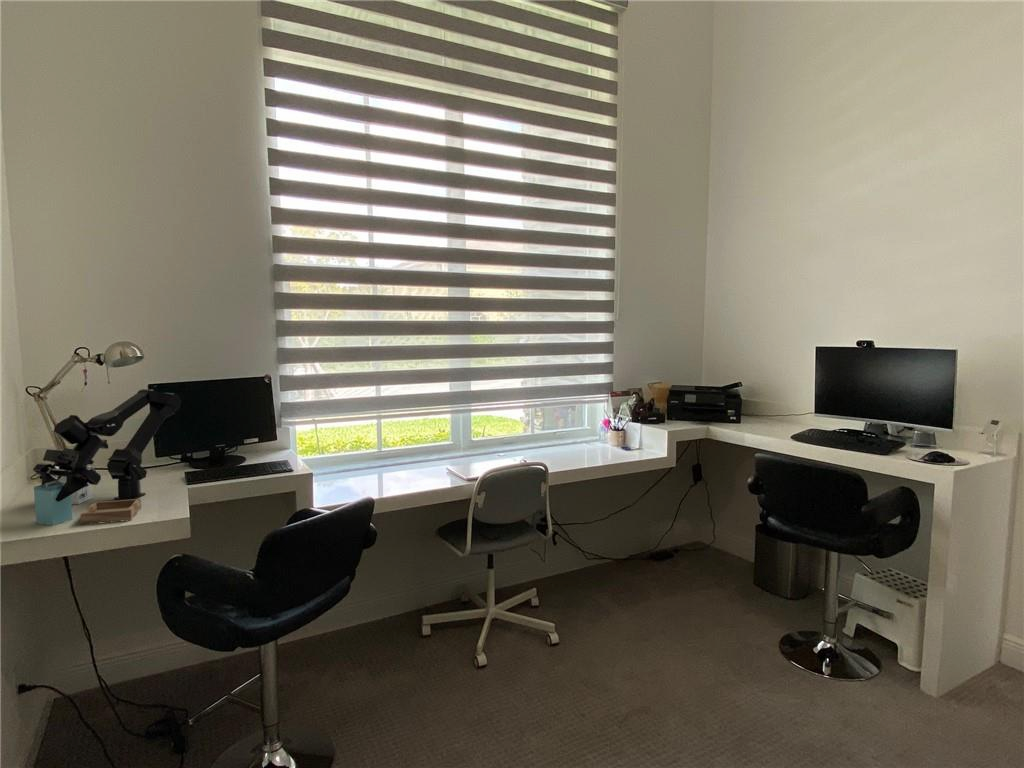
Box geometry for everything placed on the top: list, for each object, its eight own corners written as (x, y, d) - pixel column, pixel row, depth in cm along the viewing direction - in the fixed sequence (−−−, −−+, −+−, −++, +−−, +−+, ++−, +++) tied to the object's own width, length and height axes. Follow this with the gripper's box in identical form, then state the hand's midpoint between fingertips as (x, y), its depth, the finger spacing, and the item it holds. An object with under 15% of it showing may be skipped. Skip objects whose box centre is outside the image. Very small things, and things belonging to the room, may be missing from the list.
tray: (94, 512, 175) (94, 502, 174) (141, 508, 179) (140, 498, 179) (81, 524, 163) (80, 514, 163) (131, 520, 168) (130, 510, 167)
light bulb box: (93, 498, 188) (91, 465, 187) (78, 504, 182) (76, 470, 181) (59, 498, 188) (57, 465, 187) (43, 504, 181) (41, 470, 180)
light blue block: (55, 517, 169) (53, 478, 168) (72, 519, 168) (69, 480, 167) (36, 523, 164) (33, 483, 163) (53, 525, 163) (50, 485, 162)
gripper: (37, 435, 170) (-2, 482, 160) (89, 439, 165) (52, 487, 156) (65, 456, 178) (30, 502, 168) (115, 460, 174) (82, 508, 164)
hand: (48, 500), depth 164 cm, fingers closed on light blue block, 6 cm apart
